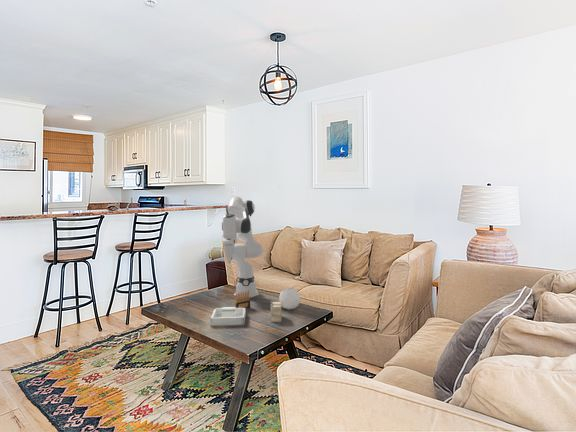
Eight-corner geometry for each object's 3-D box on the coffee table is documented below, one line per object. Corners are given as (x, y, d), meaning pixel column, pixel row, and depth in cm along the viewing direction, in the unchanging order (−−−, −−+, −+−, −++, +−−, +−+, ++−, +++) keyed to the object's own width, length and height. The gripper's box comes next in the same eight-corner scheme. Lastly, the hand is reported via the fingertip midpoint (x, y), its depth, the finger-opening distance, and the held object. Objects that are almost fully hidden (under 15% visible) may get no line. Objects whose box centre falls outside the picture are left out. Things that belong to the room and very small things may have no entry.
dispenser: (270, 316, 217) (270, 300, 216) (280, 316, 217) (280, 300, 217) (271, 321, 208) (270, 305, 207) (281, 321, 208) (281, 305, 208)
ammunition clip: (236, 310, 227) (235, 292, 226) (234, 310, 229) (234, 292, 228) (250, 307, 233) (250, 290, 233) (248, 306, 235) (248, 289, 234)
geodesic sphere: (285, 294, 243) (280, 281, 234) (304, 296, 239) (300, 282, 230) (279, 312, 233) (274, 299, 224) (299, 314, 228) (295, 301, 219)
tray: (214, 315, 219) (214, 308, 218) (245, 314, 220) (245, 307, 220) (210, 326, 201) (210, 318, 201) (244, 325, 203) (244, 317, 202)
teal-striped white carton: (222, 318, 212) (222, 307, 211) (235, 318, 212) (235, 306, 212) (221, 320, 209) (221, 308, 208) (235, 320, 209) (235, 308, 209)
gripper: (226, 237, 231) (226, 258, 232) (222, 242, 211) (223, 264, 212) (236, 237, 232) (236, 258, 233) (233, 242, 211) (233, 264, 212)
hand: (230, 261), depth 222 cm, fingers open, 8 cm apart
